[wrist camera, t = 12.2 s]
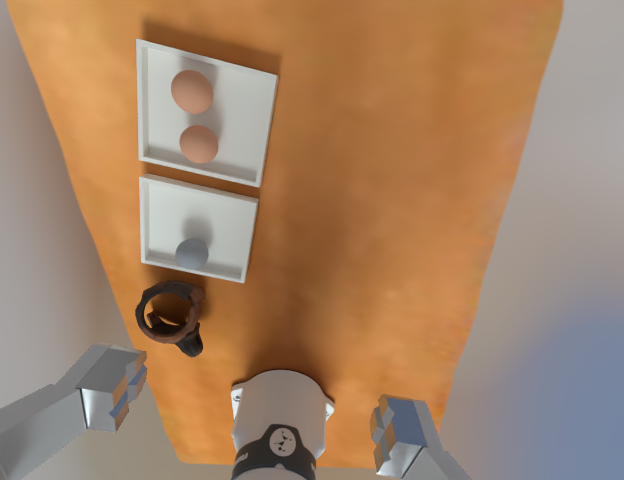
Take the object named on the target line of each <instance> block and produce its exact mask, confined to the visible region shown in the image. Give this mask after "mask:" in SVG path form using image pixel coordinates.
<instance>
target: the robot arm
mask: <svg viewBox="0 0 624 480" xmlns="http://www.w3.org/2000/svg"><path fill="white" fill-rule="evenodd" d="M146 359H147V355H146V351H141V350H137V349H132V348H127V347H122V346H118V345H113V344H107V343H102V342H97V343H95V344H93V345H92V346H91V347H90V348H89V349H88V350H87V351H86V352H85V353H84V355H82V356H81V358H80V359H79V360H78V361H77V362H76V363H75V364H74V365H73V366H72V367H71V368H70V369H69V371H68V372H67V373H66V374H65V375H64V376H63V377H62V378H61V379H60V380H59V381H58V383H57V384H56V385H52V384H50V385H48V386H46V387H44V388H41V389H39V390H37V391H35V392H33V393H31V394H29V395H27V396H25V397H24V398H21V399H19V400H17V401H15V402H14V403H11V404H9V405H7V406H5V407H3V408H1V409H0V480H21V479H22V478H23V477H25V476H26V475H27V474H28V473H30V472H31V471H33V470H34V469H35V468H37V467H38V466H39V465H41V464H42V463H43V462H45V461H46V460H48V459H49V458H50V457H52V456H53V455H54V454H56V453H57V452H58V451H59V450H61V449H62V448H64V447H65V446H66V445H68V444H69V443H70V442H72V441H73V440H74V439H76V438H77V437H78V436H80V435H81V434H82V433H84V432H85V431H86V429H92V430H100V431H108V432H116V431H117V430H118V428H119V426H120V425H121V423H122V422H123V420H124V418H125V417H126V415H127V413H128V412H129V408H128V403H130V402H132V401H133V400H134V399H136V398H137V397H138V395H139V393H140V392H141V390H142V387H143V385H144V383H145V380H146V375H147V368H146V367H145V365H144V362H145V361H146ZM231 399H232V407H233V415H234V426H233V430H232V437H233V438H234V445H235V448H236V452H237V455H236V458H235V463H234V465H233V469H232V477H231V480H316V478H317V473H316V459H317V458H319V457H320V456H321V454H322V452H324V450H325V440H326V421H327V420H328V418H329V417H330V416H331V414H332V413H333V412H334V406H335V405H334V403H333V402H332V401H331V400H330V399H329V398H327V397H326V396H325V395H324V394H323V392H322V390H321V388H320V387H319V385H318V384H317V383H316V382H315V381H314V380H312V379H311V378H309V377H308V376H306V375H303V374H301V373H298V372H294V371H289V370H272V371H267V372H264V373H261V374H259V375H257V376H255V377H253V378H252V379H251V380H249V381H247V382H244V383H240V384H236V385H234V386H233V387H232V389H231ZM378 401H379V406H378V407H376V408H374V410H373V412H372V415H371V421H370V432H371V438H372V440H373V441H374V442H375V444H376V445H377V446H376V448H375V450H374V458H375V464H376V471H377V474H379V475H384V476H389V477H395V478H400V479H402V480H472V479H471V478H470V477H469V475H468V474H467V473H466V472H465V471H464V470H463V469H462V467H461V466H460V465H459V464H458V463H457V461H456V460H455V459H454V458H453V457H452V456H451V455H450V453H449V452H448V451H444V450H443V448H442V445H441V442H440V439H439V436H438V434H437V431H436V428H435V425H434V422H433V420H432V417H431V414H430V411H429V408H428V406H427V404H426V403H425V401H420V400H414V399H409V398H405V397H399V396H393V395H387V394H383V395H381V396H380V398H379V400H378Z"/></svg>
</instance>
